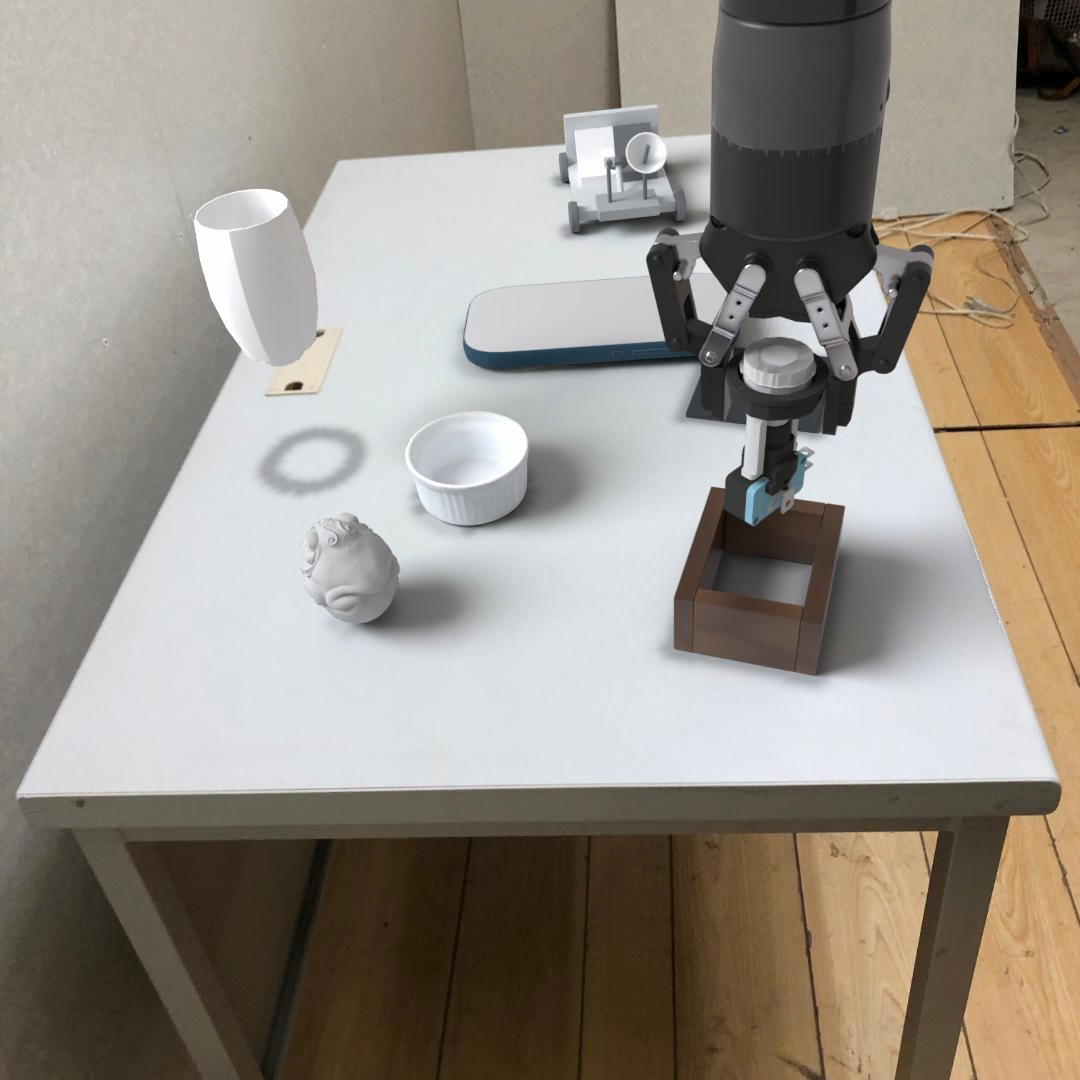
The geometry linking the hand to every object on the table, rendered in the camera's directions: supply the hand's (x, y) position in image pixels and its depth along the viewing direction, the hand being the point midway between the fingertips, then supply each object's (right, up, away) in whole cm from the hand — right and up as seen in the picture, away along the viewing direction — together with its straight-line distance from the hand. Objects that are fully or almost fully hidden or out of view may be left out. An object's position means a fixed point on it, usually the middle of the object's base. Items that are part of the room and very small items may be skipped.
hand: (775, 418), depth 58 cm
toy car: (-4, +29, +54) cm, 61 cm away
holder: (+1, -11, +10) cm, 14 cm away
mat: (+5, +5, +27) cm, 28 cm away
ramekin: (-18, -3, +20) cm, 27 cm away
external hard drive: (-8, +11, +35) cm, 38 cm away
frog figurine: (-25, -11, +12) cm, 30 cm away
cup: (-31, -1, +25) cm, 40 cm away
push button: (+1, -4, +4) cm, 6 cm away
